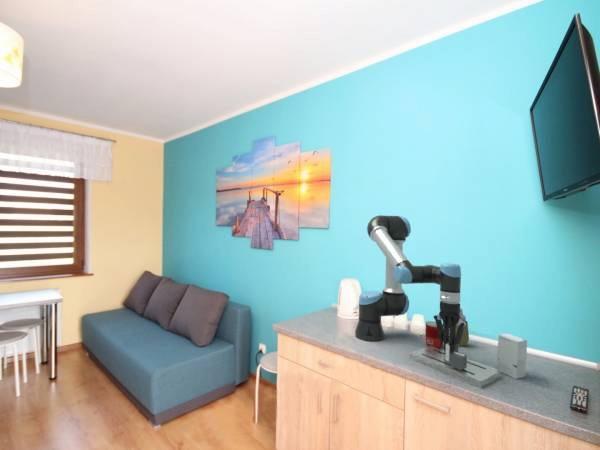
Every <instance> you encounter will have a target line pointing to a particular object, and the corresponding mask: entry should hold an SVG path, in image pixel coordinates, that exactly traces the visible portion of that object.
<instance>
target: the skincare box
mask: <svg viewBox="0 0 600 450" xmlns="http://www.w3.org/2000/svg"><path fill="white" fill-rule="evenodd" d="M497 341H498V342H497V354H496V356H497V357H496V368H495V369H498V370H500V371H501V374H502V373H503V374H505V375H507V376H510V377H512V378H513V379H515V380H517V379H521V378H524V377H526V367H527V366H526V364H527V353H528V352H527V351H528V350H527V349H528V348H527V347H528V340H526V339H524V338H521V337H520V336H516V335H513V334H510V333H501V334H498V340H497Z"/></svg>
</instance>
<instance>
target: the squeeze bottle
mask: <svg viewBox="0 0 600 450" xmlns="http://www.w3.org/2000/svg"><path fill="white" fill-rule="evenodd" d="M460 317H461V320H462V321H463V322H466V323H467V325H466V326H465V327H464V330H463V334H462V337H461V341H460V344H458V347H459V346H460V347H466V346H467V345H468V343H469V340H470V335H469V333H470V332H469V324H468V321H467V318H466V316H465V315H464V311H463V308H461V307H460ZM458 324H459V322H458V323H457V324H456V333H457V329H458V326H459V325H458Z"/></svg>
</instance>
